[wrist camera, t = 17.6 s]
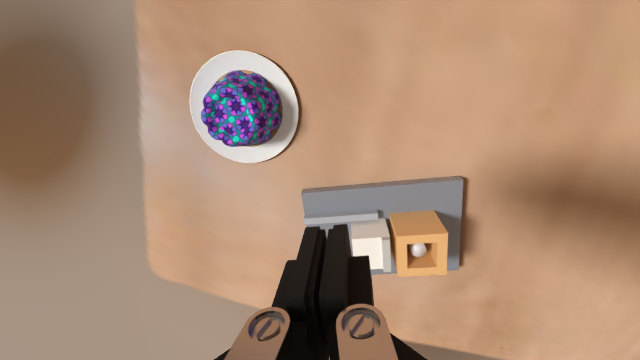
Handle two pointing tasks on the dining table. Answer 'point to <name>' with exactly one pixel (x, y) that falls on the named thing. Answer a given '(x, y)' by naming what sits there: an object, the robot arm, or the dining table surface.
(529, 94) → the dining table surface
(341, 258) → the robot arm
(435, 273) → the orange hollow cube
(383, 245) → the cream square block
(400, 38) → the dining table surface
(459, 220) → the base
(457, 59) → the dining table surface
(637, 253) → the dining table surface
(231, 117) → the pudding
